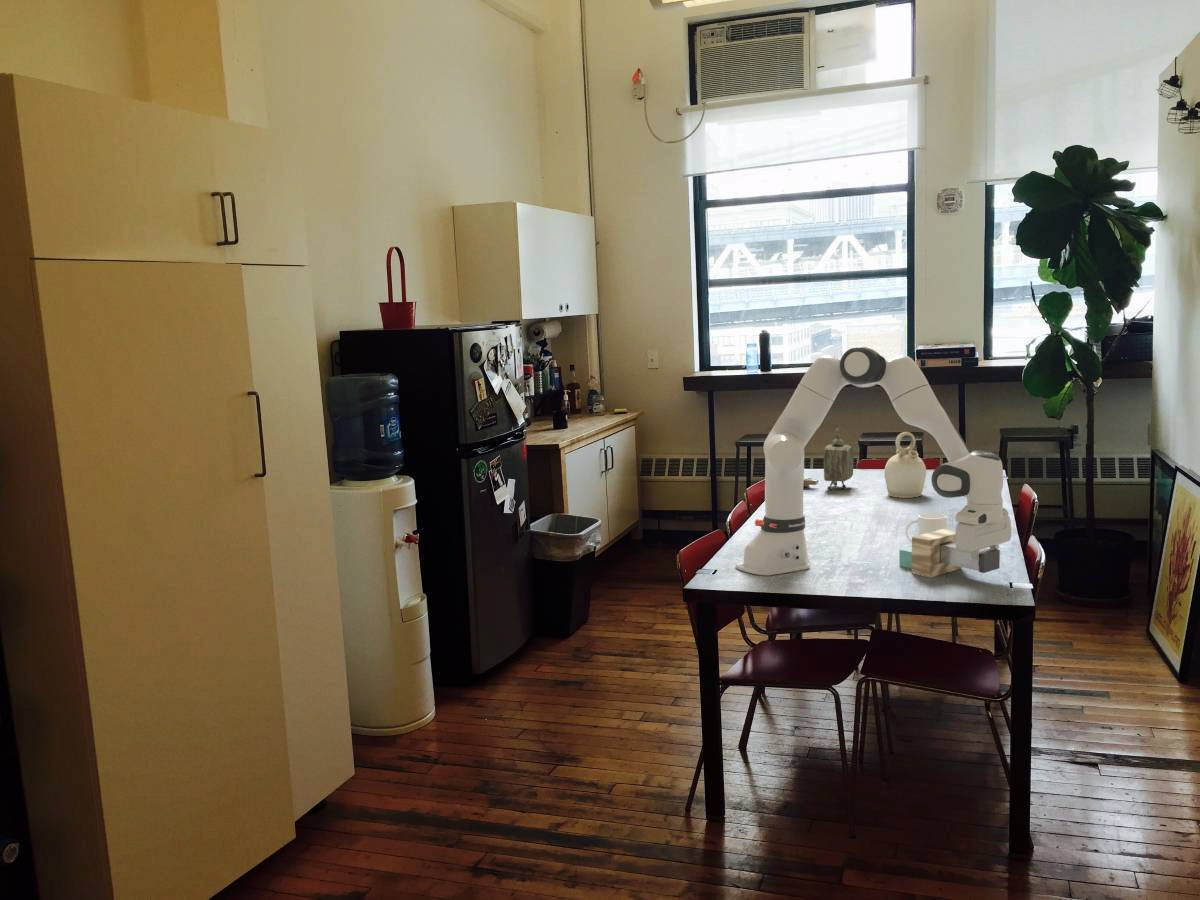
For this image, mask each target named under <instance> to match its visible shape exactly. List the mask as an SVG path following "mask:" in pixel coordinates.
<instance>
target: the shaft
mask: <svg viewBox="0 0 1200 900" xmlns="http://www.w3.org/2000/svg"><path fill="white" fill-rule="evenodd" d="M1000 552H1001V550H1000V549H998V550H997V549H993V550H991V549H990V548H984V549H980V550H979V554H978V555H979V565H978V566H975V565H973V564H972V558H971V555H970V553H966V552H961V551H958V550H957V548H956V543H955V542H950V541H949V542H945V543H941V544H940V563H945V564H950V565H954V566H959V567H961V568H965V569H969V570H973V571H978V573H980V574H981V573H982V574H984V573H988V572H989V573H990V572H992V571H995V570H998V569H1000V561H1001V560H1000V556H1001V554H1000Z"/></svg>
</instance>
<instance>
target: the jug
mask: <svg viewBox="0 0 1200 900" xmlns="http://www.w3.org/2000/svg"><path fill="white" fill-rule="evenodd" d="M904 437H909V438H910V444H909V446H907V447H902V446H901V441H902V439H903V438H904ZM915 445H916V438H915V435H914V434H913V433H911V432H909V431H904V432H901V433H899V434H898V435H897V436H896V438H895V447H896V451H895V454H894V455H893V456H891V457H890V458H889V459H888V460H887V462H886V464H885V467H884V472H883V473H884V479H885V484H886V489H887V493H888V496H889V497H891V496H892V497H891V498H897V497H899V498H898V499H911V498H912V499H913V497H916V498H919V496H920V497H921V496H922V493H923V490H924V487H925V483H926V478H927V477H926V475H927V467H926V464H925V463H924V461H923V459H922V458H921V457H919V453H918V451H916V450H913V449H914V447H915Z"/></svg>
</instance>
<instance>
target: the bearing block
mask: <svg viewBox="0 0 1200 900" xmlns="http://www.w3.org/2000/svg"><path fill="white" fill-rule="evenodd" d="M955 535H956V530H951V529H948V528H947V529H941V530H937V531H933V532H929V533H925V534H921V535H918V534H917V535H914V536H911V540H912V543H911V546H912V569H911V574H912V573H913V575H916V574H917V575H916V576H920V575H921V576H920V577H924V576H925V577H924V578H928V579H930V578H931V579H932V578H935V577H938V576H940V575H944V574H947V572H948V573H950V572H954V571H957V570H961V569H962V567H959V566H954V565H950V564H945V563H940V544H941V543H945V542H949V541H950V542H955ZM955 543H956V542H955ZM937 575H938V576H937Z"/></svg>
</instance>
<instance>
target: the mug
mask: <svg viewBox="0 0 1200 900" xmlns="http://www.w3.org/2000/svg"><path fill="white" fill-rule="evenodd" d="M914 524H917V526H918V527H917V535H921V534H925V533H929V532H933V531H937V530H941V529H947V530H948V516H947V515H946V514H942V513H935V512H927V513H925V512H924V513H920V514H918V515H917V519H914V520H912V521H910V522H909V523H908V524H907V526H906V529H905V535H906V538H907V540H908V541H909V543H911V544H912V538H911V537H909V533H908V530H909V528H910V527H911V526H912V525H914Z"/></svg>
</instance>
